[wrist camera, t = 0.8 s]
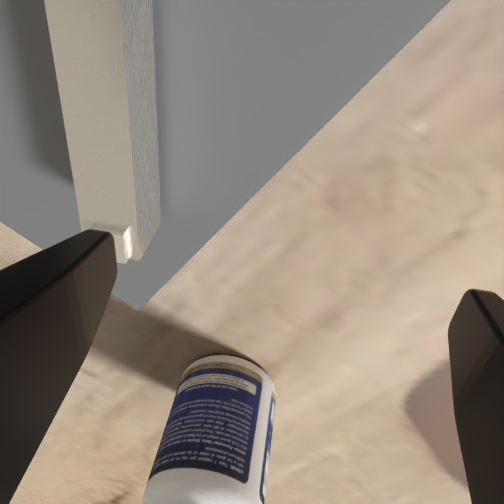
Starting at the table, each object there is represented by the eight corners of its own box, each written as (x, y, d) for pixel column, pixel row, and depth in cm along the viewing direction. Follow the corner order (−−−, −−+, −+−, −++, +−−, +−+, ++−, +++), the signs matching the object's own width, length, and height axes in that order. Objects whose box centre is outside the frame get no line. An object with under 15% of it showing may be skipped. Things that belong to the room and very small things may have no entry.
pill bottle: (163, 368, 26) (90, 563, 18) (241, 339, 24) (196, 547, 16) (219, 422, 28) (175, 616, 20) (294, 400, 26) (279, 608, 18)
